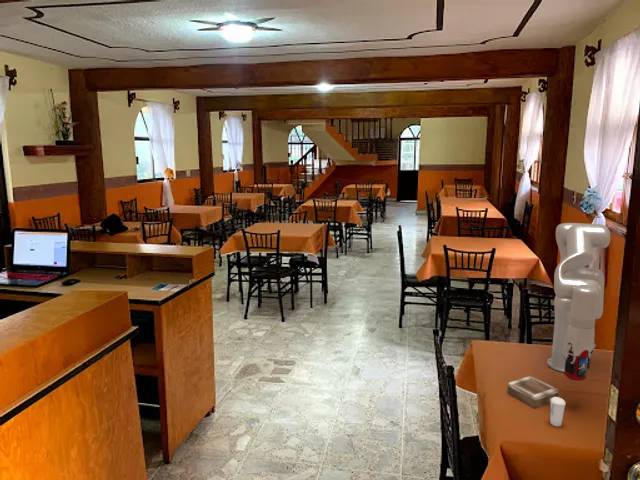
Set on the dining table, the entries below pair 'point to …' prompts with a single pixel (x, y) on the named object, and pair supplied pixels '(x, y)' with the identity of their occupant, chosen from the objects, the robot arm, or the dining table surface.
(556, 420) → the milkshake
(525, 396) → the white square tray
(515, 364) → the dining table surface
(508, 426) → the dining table surface
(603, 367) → the dining table surface
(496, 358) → the dining table surface
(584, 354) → the beverage can
